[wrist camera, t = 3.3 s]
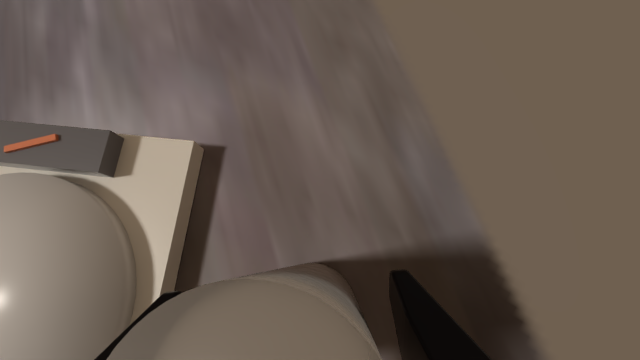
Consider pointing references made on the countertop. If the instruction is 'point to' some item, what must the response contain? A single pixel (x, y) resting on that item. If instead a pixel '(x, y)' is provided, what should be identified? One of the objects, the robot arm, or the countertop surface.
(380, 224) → the countertop surface
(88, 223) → the scale
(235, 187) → the countertop surface
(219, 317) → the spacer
